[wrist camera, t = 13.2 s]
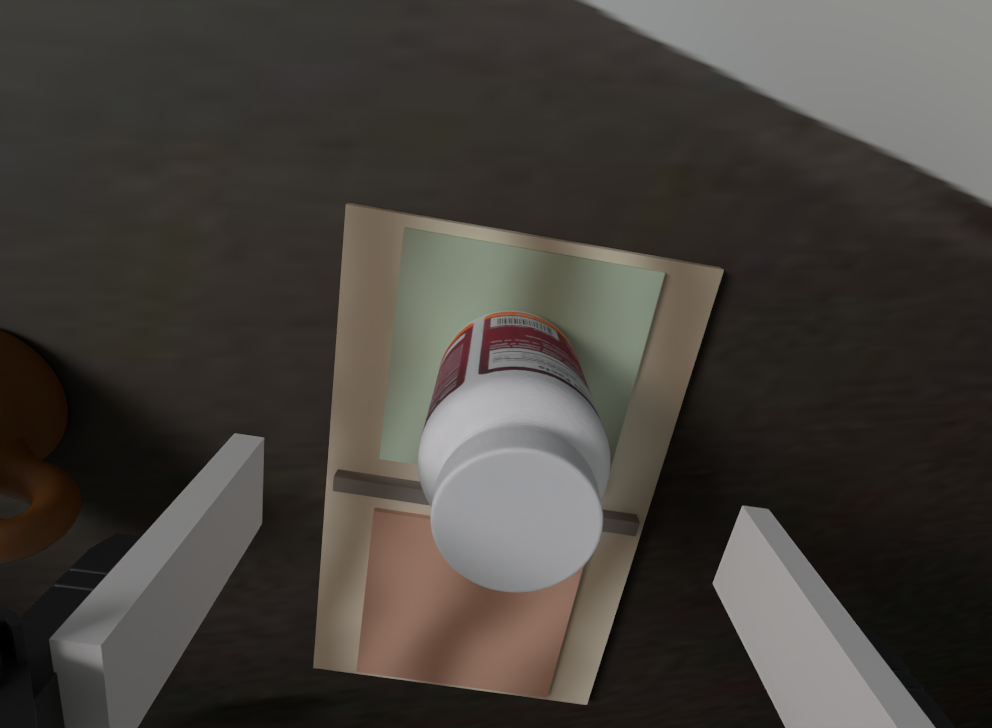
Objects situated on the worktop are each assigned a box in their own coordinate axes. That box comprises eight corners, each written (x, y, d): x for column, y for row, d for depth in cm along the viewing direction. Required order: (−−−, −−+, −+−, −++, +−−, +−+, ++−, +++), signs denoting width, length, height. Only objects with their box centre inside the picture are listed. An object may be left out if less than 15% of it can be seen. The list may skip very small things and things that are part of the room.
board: (316, 658, 33) (309, 678, 32) (349, 202, 24) (341, 205, 22) (585, 695, 34) (588, 716, 32) (719, 267, 24) (730, 273, 23)
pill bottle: (482, 455, 27) (469, 645, 17) (415, 346, 25) (352, 486, 15) (602, 398, 26) (667, 565, 15) (541, 281, 24) (568, 381, 14)
